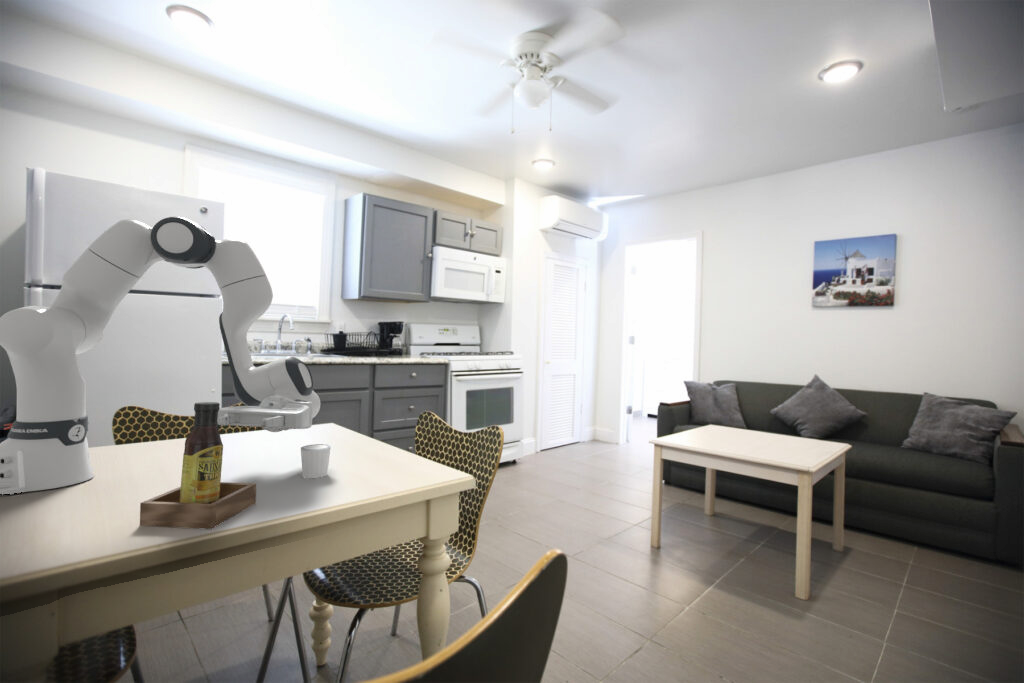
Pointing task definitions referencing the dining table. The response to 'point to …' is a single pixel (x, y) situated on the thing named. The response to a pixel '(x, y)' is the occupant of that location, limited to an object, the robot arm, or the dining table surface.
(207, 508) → the brown wooden tray
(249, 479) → the dining table surface
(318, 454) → the white cup
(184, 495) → the sauce bottle
